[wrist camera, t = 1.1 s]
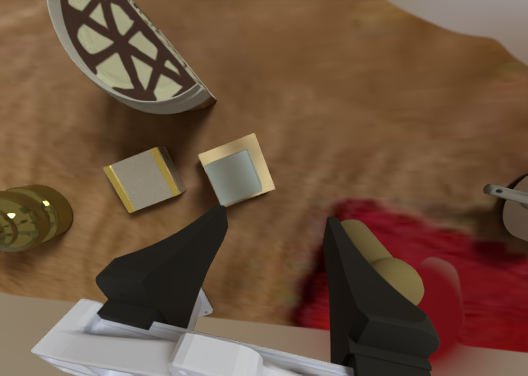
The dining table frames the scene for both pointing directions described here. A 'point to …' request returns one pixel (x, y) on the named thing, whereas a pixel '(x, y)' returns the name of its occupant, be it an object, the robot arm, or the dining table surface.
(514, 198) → the saucepan
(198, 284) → the robot arm
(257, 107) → the dining table surface
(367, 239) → the cork
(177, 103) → the food container
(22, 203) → the olive shiny rounded piece
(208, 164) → the stacked blocks
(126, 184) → the dock
